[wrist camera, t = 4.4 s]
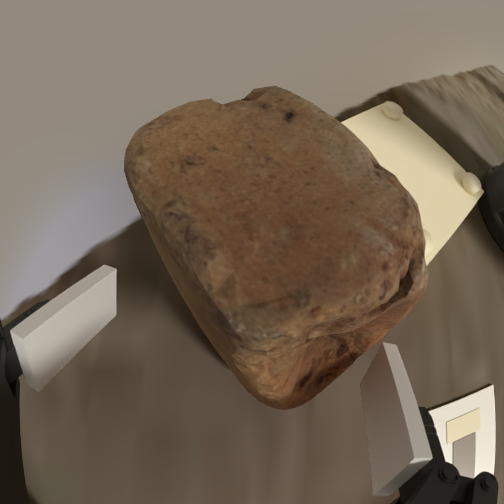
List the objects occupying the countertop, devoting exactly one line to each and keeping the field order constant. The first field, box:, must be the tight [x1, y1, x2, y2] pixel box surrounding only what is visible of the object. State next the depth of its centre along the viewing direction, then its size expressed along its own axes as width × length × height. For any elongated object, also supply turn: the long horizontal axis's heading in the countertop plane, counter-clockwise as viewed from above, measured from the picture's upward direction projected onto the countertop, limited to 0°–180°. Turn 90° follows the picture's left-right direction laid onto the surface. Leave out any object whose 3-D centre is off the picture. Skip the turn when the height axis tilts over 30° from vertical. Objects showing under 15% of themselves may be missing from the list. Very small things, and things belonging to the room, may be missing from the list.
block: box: [124, 86, 428, 410], centre depth 16 cm, size 11×8×20 cm
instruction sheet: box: [428, 385, 495, 478], centre depth 19 cm, size 10×14×1 cm
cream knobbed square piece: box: [341, 101, 484, 266], centre depth 29 cm, size 16×16×6 cm
